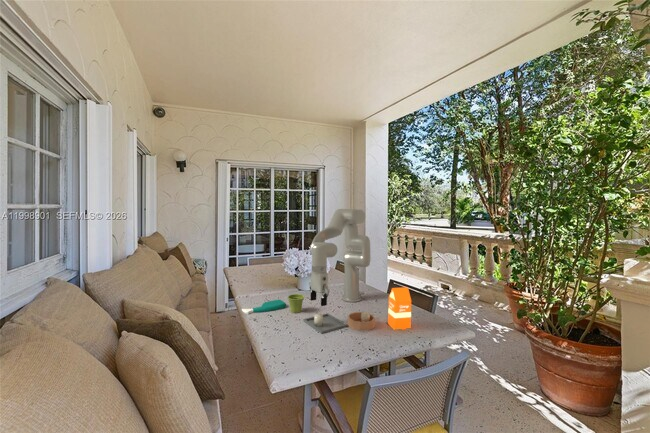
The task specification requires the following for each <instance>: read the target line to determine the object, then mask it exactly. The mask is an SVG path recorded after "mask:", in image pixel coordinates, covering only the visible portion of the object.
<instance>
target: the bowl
mask: <svg viewBox="0 0 650 433" xmlns="http://www.w3.org/2000/svg"><path fill="white" fill-rule="evenodd" d="M362 312H363V311H355V312H351V313H349V314H348V315H347V327H349V328H351V330H352V329H353V330H356V331H360V332H361V331H370V330H373V329H374V328H375V326H376V317H375V316H374V315H373V314H371V313H370V321H368V322H361V313H362Z"/></svg>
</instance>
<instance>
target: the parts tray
mask: <svg viewBox="0 0 650 433" xmlns="http://www.w3.org/2000/svg"><path fill="white" fill-rule="evenodd" d="M322 315H323V326H322V327H316V326H314V316H311V317H307V318H303V320H302V322H304V324H306V325H307V326H310V328H312V329H314V330H315V331H316V332H318V333H319V334H321V335H322V334H326V333H328V332H329V333H330V332H333V331H336V330H340V329H343V328H344V329H345V328H347V327H348V323H346V322H344V321H343V320H340V319H339V318H337V317H335V316H333V315H332V314H330V313H322Z"/></svg>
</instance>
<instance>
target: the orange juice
mask: <svg viewBox="0 0 650 433" xmlns="http://www.w3.org/2000/svg"><path fill="white" fill-rule="evenodd" d="M387 312H388V317H387V318H388V319H387V320H388V321H387V325H389V327H391V328H392V329H393V330H394V331H396V330H395V329H402V330H407V329H406V328H411V326H412V322H411V321H412V298H411V294H410V290H409V287H408V286H405V287H391V291H390V293H389V295H388V310H387Z"/></svg>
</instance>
